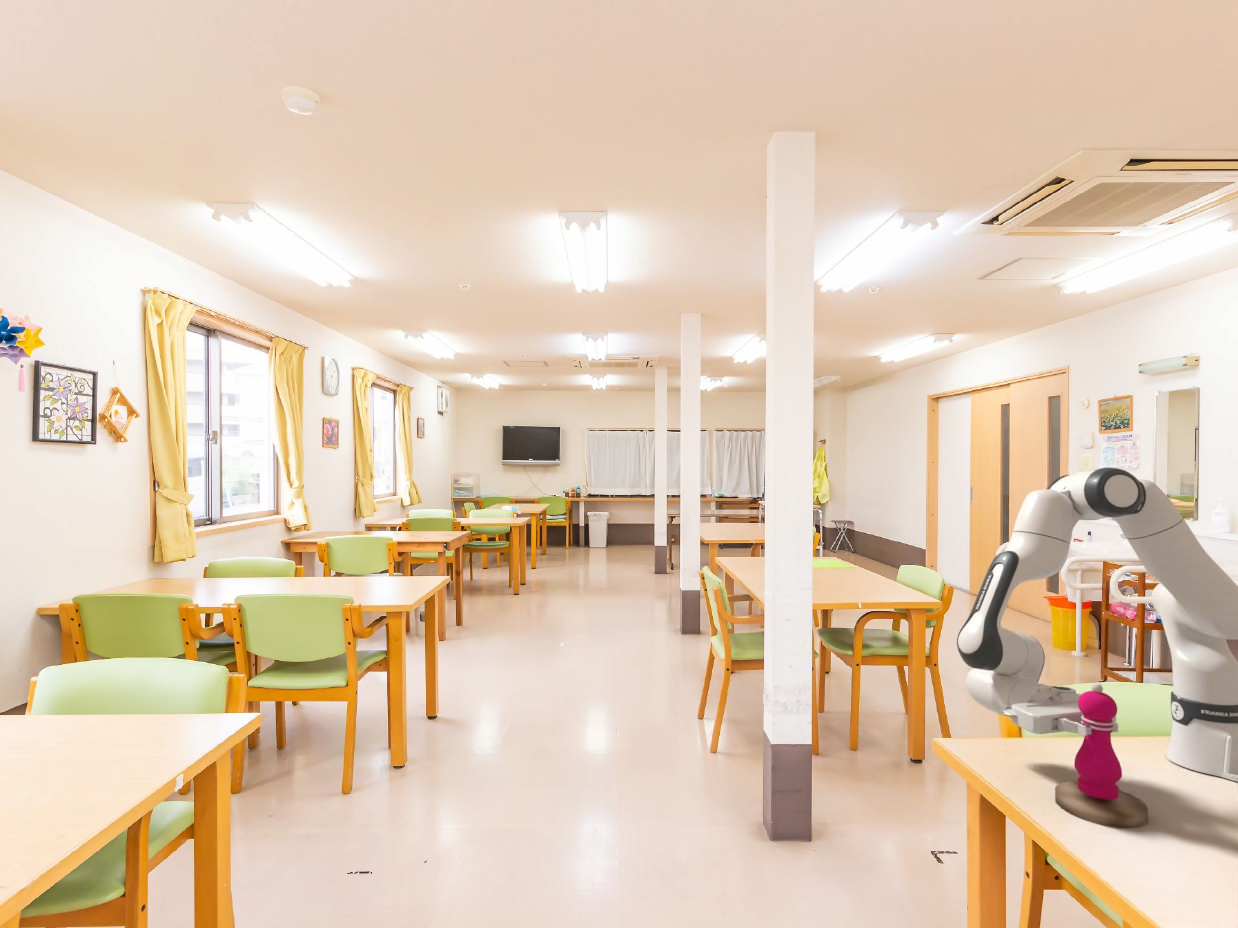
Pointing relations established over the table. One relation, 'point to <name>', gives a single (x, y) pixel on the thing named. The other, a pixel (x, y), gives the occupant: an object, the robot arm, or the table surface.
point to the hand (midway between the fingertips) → (1102, 729)
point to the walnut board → (1102, 807)
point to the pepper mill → (1098, 746)
